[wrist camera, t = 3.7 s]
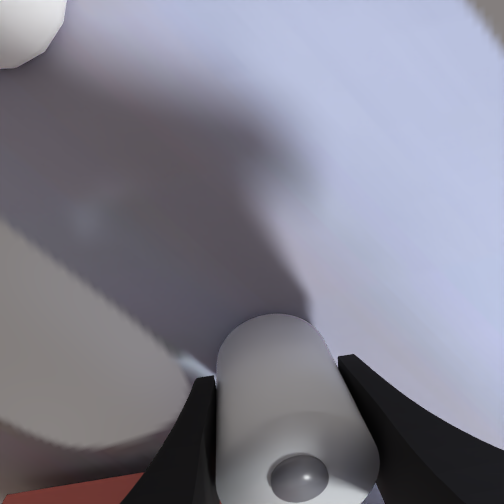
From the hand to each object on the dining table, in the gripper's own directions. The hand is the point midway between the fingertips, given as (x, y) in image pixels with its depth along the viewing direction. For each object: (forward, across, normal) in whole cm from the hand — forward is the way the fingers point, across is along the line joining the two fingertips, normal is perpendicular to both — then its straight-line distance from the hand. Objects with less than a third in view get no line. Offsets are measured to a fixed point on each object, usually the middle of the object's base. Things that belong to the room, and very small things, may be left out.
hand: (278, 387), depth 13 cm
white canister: (+2, 0, 0) cm, 2 cm away
